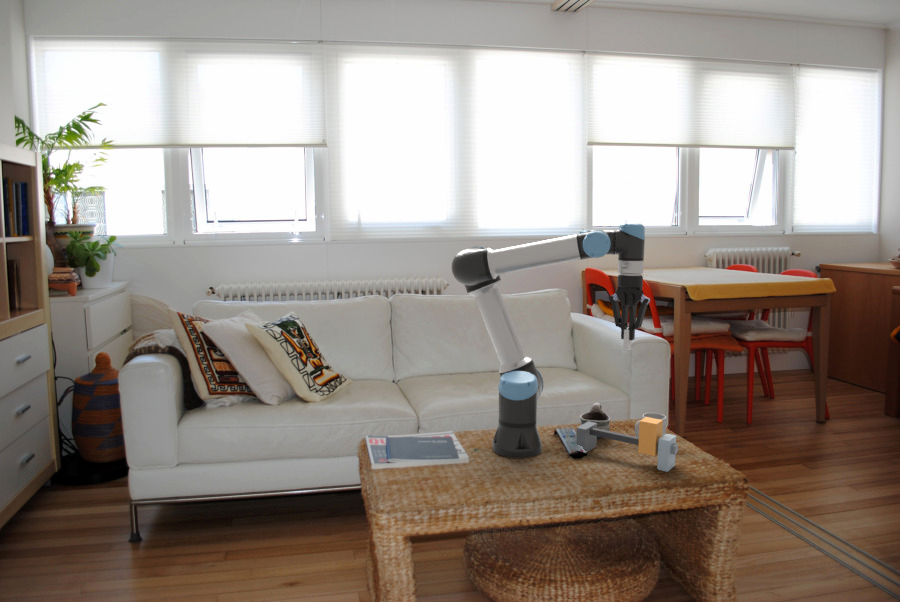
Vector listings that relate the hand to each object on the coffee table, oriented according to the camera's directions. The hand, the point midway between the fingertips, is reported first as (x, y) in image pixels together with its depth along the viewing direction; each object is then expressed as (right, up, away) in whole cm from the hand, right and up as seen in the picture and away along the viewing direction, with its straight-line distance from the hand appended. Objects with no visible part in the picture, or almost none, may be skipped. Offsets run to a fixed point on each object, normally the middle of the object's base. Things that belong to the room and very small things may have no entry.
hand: (627, 349), depth 206 cm
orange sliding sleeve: (+3, -29, -13) cm, 32 cm away
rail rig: (-3, -32, -8) cm, 33 cm away
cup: (+8, -30, +5) cm, 32 cm away
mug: (-8, -29, +12) cm, 33 cm away
